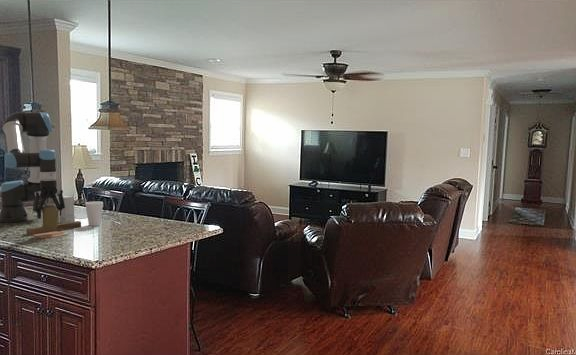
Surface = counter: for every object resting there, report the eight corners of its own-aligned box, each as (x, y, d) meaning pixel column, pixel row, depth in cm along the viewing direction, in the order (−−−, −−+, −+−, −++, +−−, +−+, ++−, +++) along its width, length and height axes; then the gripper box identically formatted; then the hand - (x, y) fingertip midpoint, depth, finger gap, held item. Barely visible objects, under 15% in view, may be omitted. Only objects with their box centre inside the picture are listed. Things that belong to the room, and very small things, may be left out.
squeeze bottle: (60, 229, 245) (59, 195, 243) (44, 232, 239) (42, 196, 237) (55, 227, 250) (54, 193, 249) (39, 229, 245) (37, 195, 243)
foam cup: (87, 227, 266) (87, 204, 264) (84, 224, 273) (83, 202, 272) (105, 225, 271) (104, 203, 270) (101, 222, 279) (101, 201, 277)
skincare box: (75, 222, 278) (74, 196, 276) (65, 224, 272) (64, 197, 270) (65, 221, 282) (64, 195, 280) (55, 222, 276) (54, 196, 274)
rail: (26, 234, 246) (26, 228, 246) (78, 226, 268) (78, 220, 268) (41, 239, 236) (41, 233, 236) (94, 230, 258) (93, 225, 258)
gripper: (30, 181, 232) (32, 227, 234) (71, 178, 248) (72, 221, 250) (23, 180, 236) (25, 225, 238) (64, 177, 253) (65, 219, 255)
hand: (49, 223), depth 244 cm, fingers closed on squeeze bottle, 8 cm apart
